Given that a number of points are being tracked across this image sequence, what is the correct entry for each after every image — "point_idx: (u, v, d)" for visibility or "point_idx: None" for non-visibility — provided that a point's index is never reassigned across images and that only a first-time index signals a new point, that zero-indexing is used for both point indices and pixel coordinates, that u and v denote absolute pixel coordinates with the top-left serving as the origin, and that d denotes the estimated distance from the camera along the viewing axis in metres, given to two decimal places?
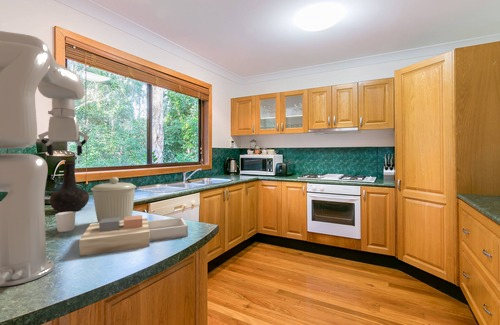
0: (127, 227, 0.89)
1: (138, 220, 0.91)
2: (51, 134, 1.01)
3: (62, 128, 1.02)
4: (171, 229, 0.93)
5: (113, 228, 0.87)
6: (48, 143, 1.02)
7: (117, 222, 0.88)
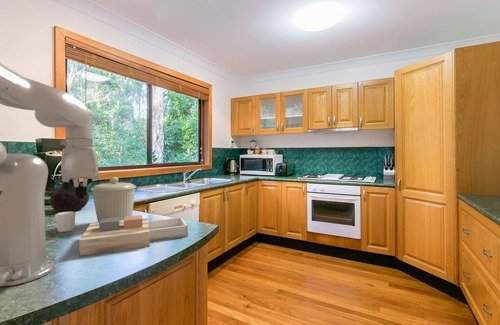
0: (127, 227, 0.89)
1: (138, 220, 0.91)
2: (65, 170, 0.82)
3: (78, 162, 0.83)
4: (171, 229, 0.93)
5: (113, 228, 0.87)
6: (77, 184, 0.84)
7: (117, 222, 0.88)
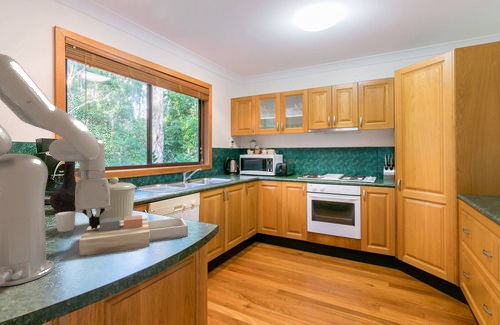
0: (127, 227, 0.89)
1: (138, 220, 0.91)
2: (79, 202, 0.83)
3: (91, 194, 0.85)
4: (171, 229, 0.93)
5: (114, 228, 0.88)
6: (90, 214, 0.86)
7: (117, 222, 0.88)
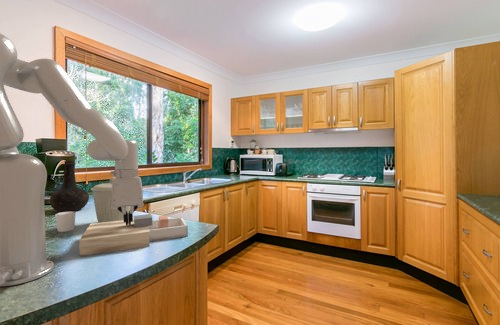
0: (161, 222, 0.94)
1: None
2: (115, 199, 0.88)
3: (126, 192, 0.89)
4: (171, 229, 0.93)
5: (147, 224, 0.92)
6: (125, 211, 0.90)
7: (150, 218, 0.93)
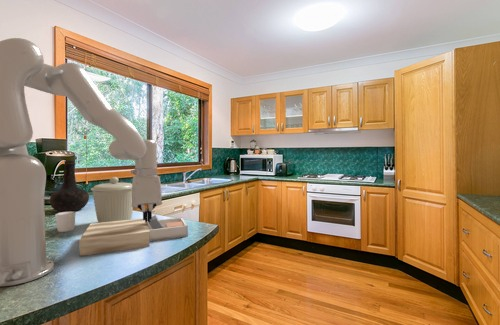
0: None
1: None
2: (135, 197, 0.90)
3: (146, 190, 0.92)
4: (171, 229, 0.93)
5: None
6: (144, 209, 0.93)
7: None
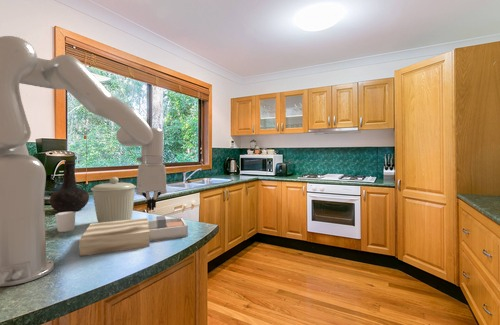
0: None
1: None
2: (140, 184, 0.91)
3: (151, 177, 0.92)
4: (171, 229, 0.93)
5: None
6: (149, 197, 0.93)
7: None
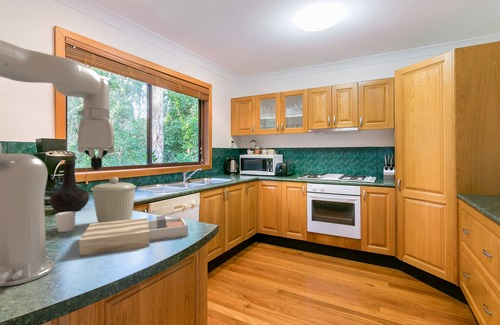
0: None
1: None
2: (81, 140, 0.81)
3: (94, 133, 0.83)
4: (171, 229, 0.93)
5: None
6: (92, 155, 0.84)
7: None
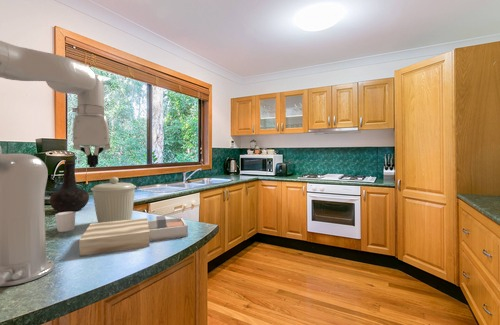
0: None
1: None
2: (76, 137, 0.81)
3: (89, 130, 0.82)
4: (171, 229, 0.93)
5: None
6: (88, 152, 0.84)
7: None
